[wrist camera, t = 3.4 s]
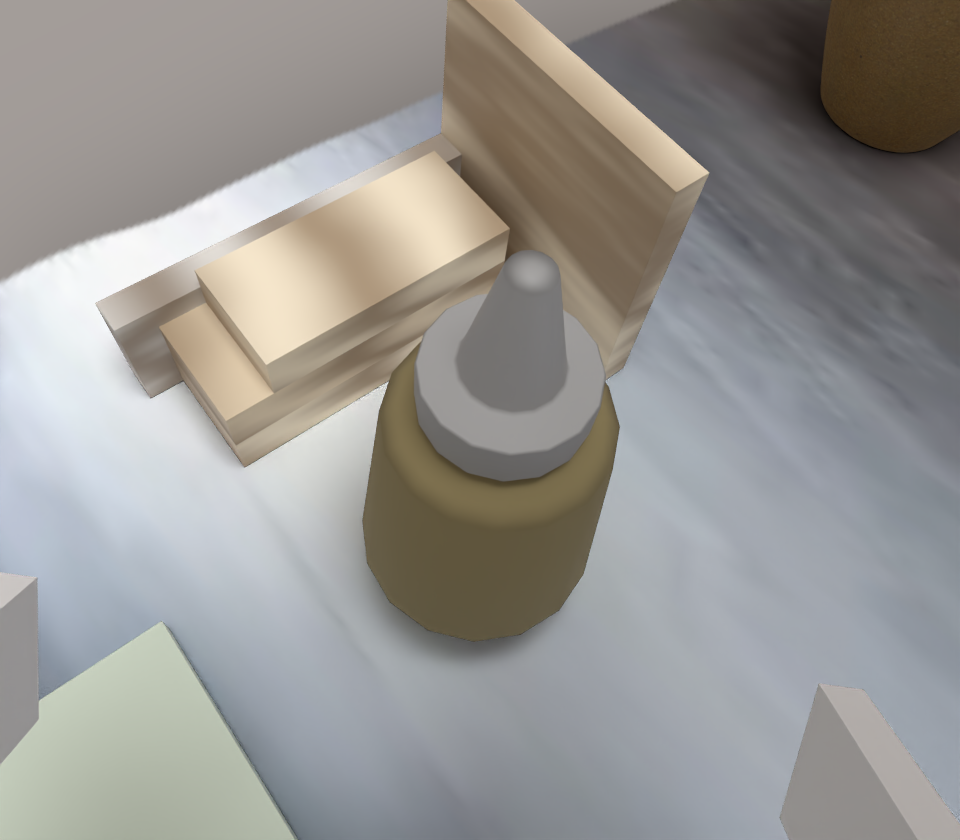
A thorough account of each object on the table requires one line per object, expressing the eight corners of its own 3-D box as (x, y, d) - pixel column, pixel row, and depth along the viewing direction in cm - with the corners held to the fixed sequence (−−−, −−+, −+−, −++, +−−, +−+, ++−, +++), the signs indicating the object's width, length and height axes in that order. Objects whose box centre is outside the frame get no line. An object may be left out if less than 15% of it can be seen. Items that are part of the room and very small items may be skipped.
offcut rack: (461, 199, 41) (480, -30, 31) (623, 367, 37) (709, 172, 27) (133, 373, 35) (17, 163, 25) (285, 596, 31) (224, 460, 21)
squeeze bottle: (525, 702, 30) (658, 525, 14) (328, 608, 31) (249, 346, 15) (601, 514, 34) (772, 209, 18) (422, 436, 35) (436, 82, 19)
